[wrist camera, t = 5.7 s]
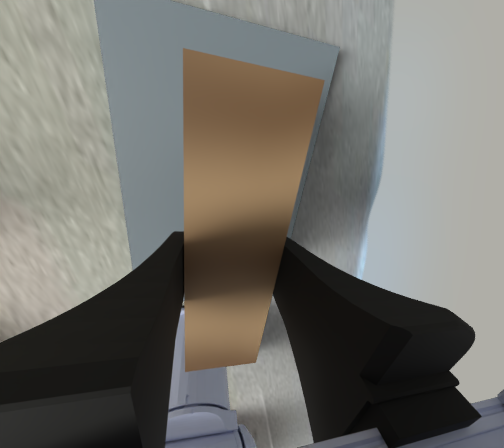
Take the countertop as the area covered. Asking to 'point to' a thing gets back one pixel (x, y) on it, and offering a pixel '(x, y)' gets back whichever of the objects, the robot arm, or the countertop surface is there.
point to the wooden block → (238, 197)
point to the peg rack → (179, 98)
